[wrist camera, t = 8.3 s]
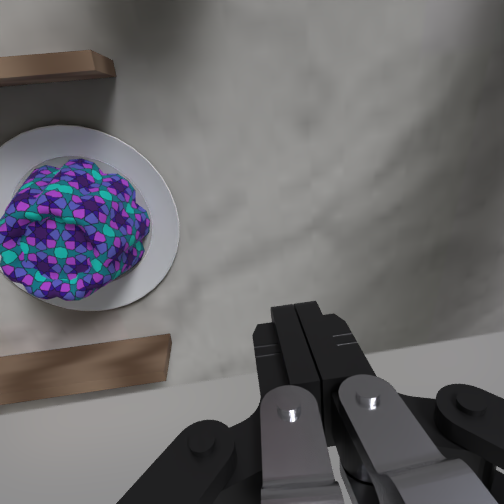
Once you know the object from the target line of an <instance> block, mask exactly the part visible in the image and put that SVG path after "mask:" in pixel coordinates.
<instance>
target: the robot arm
mask: <svg viewBox="0 0 504 504" xmlns="http://www.w3.org/2000/svg"><path fill="white" fill-rule="evenodd" d="M271 318H272V322H271V323H264V324H257V327H256V329H255V331H254V333H253V343H254V350H255V358H256V365H257V373H258V379H259V387H260V395H261V399H260V403H259V406H258V408H257V409H256V411H255V412H254V413H253V414H252V415H251V416H250V417H249V418H248V419H246V420H245V421H243V422H241V423H239V424H237V425H234V426H232V427H230V428H228V426H226V425H225V424H223V423H222V422H219V421H216V420H203V421H199V422H196V423H194V424H192V425H190V426H188V427H187V428H185V429H184V430H183V431H182V432H181V433H180V434H179V435H178V436H177V437H176V438H175V440H174V441H173V442H172V443H171V444H170V445H169V446H168V447H167V449H165V451H164V452H163V453H162V454H161V455H160V456H159V457H158V458H157V459H156V460H155V462H154V463H153V464H152V465H151V466H150V467H149V468H148V469H147V470H146V472H145V473H144V474H143V475H142V476H141V477H140V478H139V479H138V480H137V481H136V483H135V484H134V485H133V486H132V487H131V488H130V489H129V490H128V491H127V492H126V493H125V495H124V496H123V497H122V498H121V499H120V500H119V501H118V502H117V503H116V504H344V500H343V496H342V492H341V489H340V486H339V483H338V482H337V481H335V479H334V475H333V471H332V466H331V463H330V458H329V453H328V449H327V447H330V446H336V448H337V451H338V454H339V457H340V473H341V476H342V479H343V481H344V484H345V486H346V489H347V491H348V494H349V496H350V499H351V501H352V503H353V504H504V474H502V473H501V472H499V471H497V470H496V466H498V467H500V468H501V469H504V399H503V398H501V397H498V396H496V395H494V394H491V393H489V392H487V391H484V390H482V389H480V388H477V387H474V386H470V385H465V384H451V385H448V386H445V387H443V388H441V389H440V390H439V391H438V393H437V396H436V399H430V398H420V397H412V396H407V395H403V394H400V393H397V392H396V390H395V389H394V388H393V386H392V385H390V384H389V383H388V382H387V381H385V380H383V379H381V378H379V377H377V376H376V375H375V373H374V371H373V369H372V368H371V366H370V364H369V362H368V360H367V359H366V357H365V355H364V353H363V352H362V350H361V348H360V346H359V345H358V343H357V342H356V339H355V338H354V336H353V334H352V333H351V331H350V329H349V327H348V325H347V323H346V322H345V321H344V320H342V319H341V318H340V317H338V316H337V315H335V314H328V315H323V314H322V312H321V310H320V308H319V306H318V304H317V302H316V301H311V302H304V303H297V304H294V305H293V304H290V305H283V306H276V307H271Z"/></svg>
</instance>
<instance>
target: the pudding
mask: <svg viewBox="0 0 504 504" xmlns="http://www.w3.org/2000/svg"><path fill="white" fill-rule="evenodd" d="M64 156H80V157H86V158H91V159H95V160H98V161H100V162H103V163H106V164H108V165H110V166H111V167H113V168H115V169H117V170H118V171H120V172H121V173H122V174H124V175H125V176H126V177H127V178H128V179H130V180H131V182H132V183H133V184H134V185H135V186H136V187H137V188H138V190H139V191H140V193H141V194H142V196H143V197H144V199H145V201H146V204H147V206H148V208H149V211H150V216H151V220H152V237H151V243H150V246H149V248H148V251H147V253H146V255H145V257H144V258H143V260H142V261H141V262H140V264H139V265H138V266H137V267H136V268H135V269H134V270H132V271H131V272H130V273H129V274H127V275H125V276H124V277H122V278H120V279H118V280H115V281H113V280H114V279H116V278H117V277H119V276H120V275H122V274H123V273H125V272H126V271H127V270H129V269H130V268H132V267H133V266H134V265H136V264H137V263H138V262H139V261H140V260H141V258H142V256H143V253H144V248H143V244H142V241H141V240H142V239H143V238H144V237H145V236H146V234H147V233H148V232H149V228H150V220H149V217H148V214H147V212H146V210H144V209H143V208H142V207H140V206H139V205H138V204H136V202H135V190H134V188H133V187H132V185H131V184H130V183H129V181H128V180H126V179H125V178H123V177H121V176H120V175H118V174H104V173H103V172H102V171H101V170H100V169H99V168H98V167H97V165H96V164H95V163H93V162H90V161H87V160H84V159H74V160H69V161H68V162H67V163H65V164H64V165H63V166H62V167H61V168H56V167H52V166H47V165H45V166H42V167H40V168H37V169H35V170H34V171H33V172H32V173H31V174H30V176H29V177H28V178H27V179H26V181H25V182H24V183H23V185H22V186H21V188H20V189H19V190H18V192H17V193H16V195H15V196H14V198H13V199H12V195H13V193H14V191H15V188H16V186H17V184H18V183H19V182H20V180H21V179H22V177H23V176H24V175H25V174H26V173H27V172H28V171H30V170H31V169H32V168H33V167H35V166H37V165H38V164H40V163H42V162H44V161H47V160H50V159H53V158H57V157H64ZM178 243H179V218H178V213H177V208H176V204H175V202H174V199H173V197H172V194H171V192H170V189H169V188H168V186H167V185H166V183H165V181H164V180H163V178H162V176H161V175H160V174H159V172H158V171H157V170H156V169H155V168H154V167H153V165H152V164H151V163H150V162H149V161H148V160H147V159H146V158H145V157H144V156H142V155H141V154H140V153H139V152H138V151H136V150H135V149H134V148H133V147H131V146H129V145H128V144H126V143H124V142H123V141H121V140H119V139H118V138H116V137H113V136H111V135H108V134H106V133H104V132H101V131H99V130H95V129H90V128H86V127H81V126H72V125H53V126H45V127H38V128H35V129H32V130H29V131H26V132H23V133H21V134H19V135H17V136H15V137H14V138H12V139H10V140H8V141H7V142H5V143H4V144H3V145H2V146H1V147H0V271H1V272H2V273H3V274H4V275H5V276H6V277H7V278H8V279H9V280H10V281H12V282H13V283H14V284H15V285H17V286H18V287H19V288H20V289H22V290H24V291H25V292H27V293H28V294H30V295H32V296H33V297H35V298H37V299H40V300H42V301H44V302H47V303H49V304H51V305H55V306H59V307H62V308H66V309H72V310H79V311H102V310H109V309H115V308H118V307H121V306H124V305H128V304H130V303H132V302H134V301H136V300H138V299H140V298H142V297H143V296H145V295H146V294H147V293H149V292H150V291H151V290H153V289H154V288H155V287H156V286H157V285H158V284H159V283H160V282H161V281H162V279H163V278H164V277H165V275H166V274H167V272H168V271H169V269H170V267H171V266H172V263H173V261H174V258H175V255H176V253H177V248H178ZM111 281H112V282H111Z"/></svg>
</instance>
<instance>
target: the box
mask: <svg viewBox="0 0 504 504" xmlns="http://www.w3.org/2000/svg"><path fill="white" fill-rule="evenodd" d="M108 77H116V72H115V68H114V63H113V60H111V59H109V58H107V57H105V56H103V55H100V54H98V53H96V52H94V51H92V50H83V51H71V52H58V53H46V54H34V55H21V56H9V57H0V87H4V86H15V85H27V84H39V83H50V82H62V81H73V80H85V79H97V78H108ZM171 346H172V341H171V336H170V334H165V335H157V336H150V337H143V338H135V339H128V340H121V341H113V342H106V343H99V344H92V345H84V346H77V347H70V348H62V349H55V350H48V351H41V352H33V353H26V354H19V355H11V356H4V357H0V405H4V404H11V403H18V402H24V401H31V400H38V399H45V398H52V397H59V396H65V395H72V394H79V393H86V392H93V391H100V390H106V389H113V388H120V387H127V386H134V385H141V384H147V383H154V382H161V381H166V378H167V372H168V365H169V359H170V352H171Z"/></svg>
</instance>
